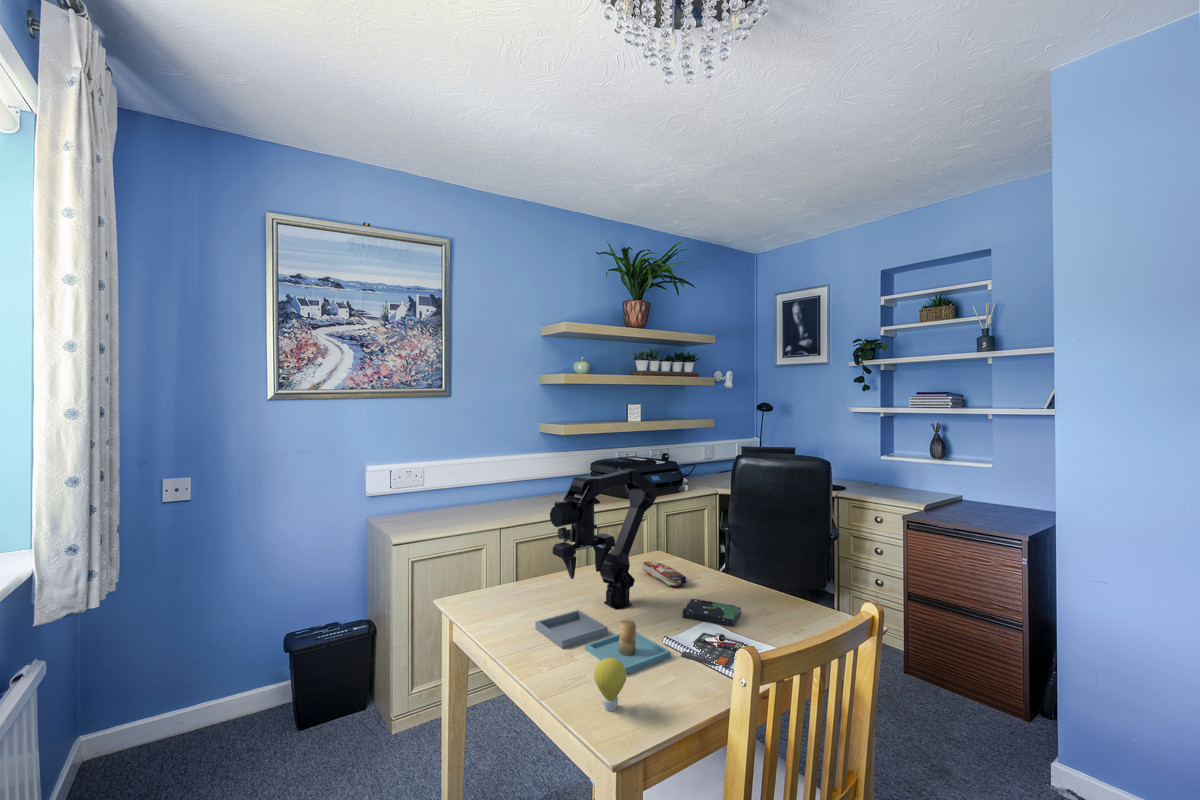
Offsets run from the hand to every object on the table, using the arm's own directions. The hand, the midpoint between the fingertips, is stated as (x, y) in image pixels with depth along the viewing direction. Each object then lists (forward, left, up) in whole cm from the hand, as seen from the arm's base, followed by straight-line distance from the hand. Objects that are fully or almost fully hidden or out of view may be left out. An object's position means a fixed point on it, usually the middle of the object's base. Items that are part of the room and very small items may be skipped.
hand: (584, 575), depth 156 cm
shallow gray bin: (+9, +7, -12) cm, 16 cm away
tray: (+4, +25, -12) cm, 28 cm away
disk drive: (-30, +21, -13) cm, 39 cm away
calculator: (-15, +36, -13) cm, 41 cm away
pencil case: (-39, -10, -13) cm, 43 cm away
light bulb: (+21, +41, -12) cm, 47 cm away
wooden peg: (+4, +25, -12) cm, 27 cm away
